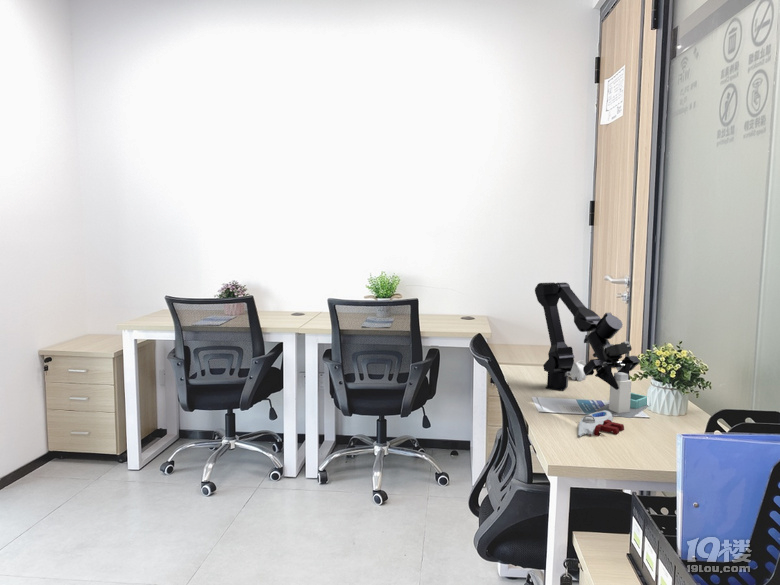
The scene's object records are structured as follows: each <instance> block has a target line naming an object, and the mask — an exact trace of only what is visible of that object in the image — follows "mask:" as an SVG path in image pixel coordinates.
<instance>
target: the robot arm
mask: <svg viewBox="0 0 780 585" xmlns="http://www.w3.org/2000/svg"><path fill="white" fill-rule="evenodd" d="M534 293H535V296H536V300H537V302H538V303H539V304H540V305H541V307H542V308H543V311H544V312H543V313H544V317H545V322H546V326H547V332H548V335H549V342H550V347H549V351H548V355H547V356H548V359H547V360H546V361H545V362H544V364H543V366H542V368H543V371H544V372H547V379H546V380H547V382H546V386H545V389H549V390H555V391H562V392H564V391H565V390H566V389H567V388H568V386H569V376H567V372H571V369H572V366H573V363H575V355H574V351H573V347H572V346H569V345H568V344H566V341H565V337H564V331H563V327H562V323H561V318H560V313H559V308H558V303H559V300H561V301H562V303H563V304H564V305H565V306H566V308H567V309H568V310H569V311H570V313H571V314H572V317H573V322H574V324H575V326H576V328H577V329H578V331H579V332H581V333H585V332H587V333H588V332H589V333H588V334H585V336H584V339H583V343H584V344H589V345H590V347H591V349H592V351H593V354H592V356H593V358H595V359H591V358H590V360H589V361H588V362H587V363H586V365H585V366H584V368H583V371H584V373H585V375H586V377H588V376H593V375H594V376H595V378H596V377H597V378H599V379H600V380H602V381H603V382H605V383H606V384H608V385H609V387H610V386H612V387H613V388H614V389H616V390H618V389H619V387H618V384H617V382H616V380H615V378H614V373H613V372H612V369H616V370H617V372H616V373H618V372H623V373H626V374H629V375H628V380H630V381H631V377H630V372H631V371H633V370H634V369H635V368H636V367H637V366H638V365H639V364H641V360H640V359H639V356H637V355H628V354H629V353H630V352H632V346H631V343H630V342H629V340H625V341H623V342H621V343H616V344H614V343H613V344H611V342H610V341H609V340H610V339H612V338H614V336H616V334H617V333H618V332H619V331H620V330H621V329H622V328H623V322H622V320H621V319H620V318H619V317H617V316H615V315H613V314H612V312H605V313H604V314H603V316H602V317H600V315H598V314H597V313H596V312H595V311H594V310H592V309H589V308H588V307H587V306H585V304H584V303H583V302H582V301H581V300H580V298H579V296H577V295H576V293H575V292H574V290H573V289H571V286H570V284H569V283H568V282H539V283H537V285H536V286H535V288H534ZM625 354H627V356H625V357H624V358H623V355H625ZM622 358H623V359H622ZM621 359H622V360H621ZM595 372H596V373H595Z"/></svg>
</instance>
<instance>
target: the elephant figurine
mask: <svg viewBox="0 0 780 585" xmlns="http://www.w3.org/2000/svg"><path fill="white" fill-rule="evenodd" d="M586 364H587V363H586V361H585V360H583V359H579V360H578V361H576V362H574V363H573V366H572V369H571V372H567V376H568V377H571V380H572V381H577V382H582V381H583V380H585V379H587V376H586V375H585V373H584V371H583V368H584V366H585V365H586Z"/></svg>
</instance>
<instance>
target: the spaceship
mask: <svg viewBox="0 0 780 585" xmlns="http://www.w3.org/2000/svg"><path fill="white" fill-rule="evenodd" d="M613 416H614V415H612V414H611V412H609V411H606V410H604V411H600V412H598V411H595V412H592V413H588V414H585V415H584V416H582V417H581V418H580V420H579V422H578V426H577V427H578V428H577V437H578V438H580V437H582V436H583V435H587V436H588V437H592V436H594V429H595V427H596V426H597V425H598V424H602V425H603V422H604V421H605V420H607V419H608V420H611V422H613V420H614V417H613Z"/></svg>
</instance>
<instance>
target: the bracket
mask: <svg viewBox="0 0 780 585" xmlns="http://www.w3.org/2000/svg"><path fill="white" fill-rule="evenodd" d="M623 431H625V426H624V424H623V423H618V422H615V421H611V420H608V419H607V420H605V421H604V422H603V425H602V424H598V425H597V426H596V427H595V429H594V434H593V436H595V437H599V436H600V434H601V435H603V436H604V434H603V433H604V432H605V433H609V434H610V433H611V432H612V433H613V434H614V435H616V436H617V435H618V434H620V432H623ZM601 432H603V433H601Z"/></svg>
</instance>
